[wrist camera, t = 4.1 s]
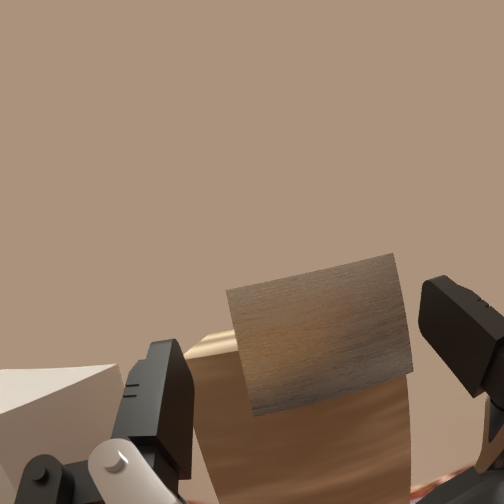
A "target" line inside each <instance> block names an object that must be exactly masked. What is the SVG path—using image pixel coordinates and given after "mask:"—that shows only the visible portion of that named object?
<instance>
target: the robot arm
mask: <svg viewBox="0 0 504 504" xmlns="http://www.w3.org/2000/svg"><path fill="white" fill-rule="evenodd" d="M418 324H419V329H420V332H421V334H422V336H423V337H424V338H425V339H426V340H427V342H428V343H429V344H430V345H431V346H432V348H433V349H434V350H435V351H436V352H437V354H438V355H439V356H440V357H441V358H442V360H443V361H444V362H445V363H446V364H447V366H448V367H449V368H450V369H451V371H452V372H453V373H454V374H455V376H456V377H457V378H458V379H459V381H460V382H461V383H462V384H463V386H464V387H465V388H466V390H467V391H468V392H469V393H470V395H471V396H472V397H473V398H475V397H477V396H478V395H480V394H482V393H483V392H485V391H486V393H487V394H488V396H487V398H486V402H485V419H484V433H483V443H482V450H481V453H480V456H479V458H478V461H477V463H476V465H475V468H474V466H472V467H471V468H469V469H467V470H466V471H464V472H462V473H461V474H459V475H457V476H455V477H454V478H452V479H450V480H448V481H447V482H445V483H443V484H441V485H439V486H437V487H436V488H435V489H434V490H432V491H431V492H430V493H429V494H427V495H426V496H425V497H424V498H422V499H421V500H420V501H418V502H417V503H416V504H504V317H503V316H502V315H501V314H499V313H498V312H497V311H496V310H495V309H494V308H493V307H491V306H490V307H489V304H488V303H486V302H485V301H484V300H481V298H480V297H479V296H478V295H477V294H475V293H474V292H473V291H471V290H469V289H467V288H464V287H462V286H460V285H457V284H456V283H455V282H454V281H452V280H451V279H450V278H448V277H447V276H445V275H442V276H439V277H436V278H433V279H430V280H426V281H425V282H424V283H423V285H422V292H421V301H420V310H419V317H418ZM125 385H126V388H124V391H123V395H122V396H123V398H121V402H120V405H119V409H118V412H117V416H116V420H115V423H114V427H113V431H112V435H111V438H110V440H107V441H104V442H102V443H101V444H99V445H98V446H97V447H96V448H95V449H94V450H93V451H92V453H91V455H90V457H89V459H88V460H84V461H79V462H74V463H70V464H65V465H63V464H62V463H61V462H59V461H58V460H57V459H56V458H55V457H54V456H52V455H49V454H41V455H38V456H35V457H34V458H32V459H31V460H30V461H29V462H28V463H27V464H26V466H25V468H24V470H23V473H22V477H21V480H20V484H19V487H18V491H17V494H16V498H15V502H14V504H188V502H187V501H186V500H185V499H184V498H183V497H182V496H181V495H180V493H179V492H178V480H189V479H191V467H192V438H193V417H194V398H195V387H194V381H193V377H192V374H191V372H190V370H189V367H188V365H187V363H186V360H185V358H184V355H183V353H182V351H181V348H180V346H179V343H178V342H177V340H176V339H170V340H163V341H157V342H152V343H151V344H150V347H149V350H148V354H147V358H146V359H145V360H138V362H137V363H136V364H135V366H134V367H133V368H132V369H131V371H130V372H129V375H128V378H127V381H126V384H125Z"/></svg>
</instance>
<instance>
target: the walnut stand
mask: <svg viewBox="0 0 504 504" xmlns="http://www.w3.org/2000/svg"><path fill="white" fill-rule="evenodd" d="M184 358H185V360H186V363H187V365H188V367H189V370H190V372H191V374H192V377H193V381H194V387H195V398H194V417H193V427H194V430H195V433H196V436H197V440H198V443H199V446H200V449H201V452H202V455H203V459H204V462H205V464H206V468H207V470H208V473H209V476H210V479H211V482H212V484H213V487H214V490H215V493H216V495H217V498H218V501H219V503H220V504H410V486H411V439H410V416H409V401H408V389H407V379H406V374H405V375H403V376H400V377H398V378H395V379H392V380H389V381H387V382H384V383H381V384H378V385H375V386H372V387H369V388H366V389H363V390H360V391H357V392H354V393H350V394H347V395H344V396H340V397H337V398H333V399H330V400H326V401H322V402H319V403H315V404H311V405H307V406H303V407H299V408H294V409H290V410H285V411H281V412H276V413H271V414H266V415H260V416H255V417H254V415H253V411H252V407H251V403H250V399H249V394H248V390H247V386H246V381H245V377H244V373H243V368H242V364H241V359H240V355H239V350H238V346H237V341H236V337H235V332H234V329H233V330H228V331H223V332H217V333H211V334H209V335H207V336H206V337H205V338H204V339H202V340H201V341H200V342H199V343H197V344H196V345H195V346H194V347H193V348H191V349H190V350H189V351H187V352H186V353H185V354H184Z"/></svg>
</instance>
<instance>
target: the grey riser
mask: <svg viewBox="0 0 504 504" xmlns="http://www.w3.org/2000/svg"><path fill="white" fill-rule="evenodd" d="M123 391H124V386H123V382H122V378H121V374H120V370H119V367H118V364H110V365H99V366H86V367H70V368H49V369H3V370H0V504H14V502H15V498H16V494H17V491H18V487H19V484H20V480H21V477H22V473H23V470H24V468H25V466H26V464H27V463H28V462H29V461H30V460H31V459H32V458H34V457H35V456H38V455H41V454H49V455H52V456H54V457H55V458H56V459H57V460H58V461H59V462H61V463H62V464H63V465H65V464H70V463H74V462H79V461H84V460H88V459H89V457H90V455H91V453H92V451H93V450H94V449H95V448H96V447H97V446H98V445H99V444H101V443H102V442H104V441H107V440H110V438H111V435H112V431H113V427H114V423H115V420H116V416H117V412H118V409H119V405H120V402H121V398H123V396H122V395H123Z"/></svg>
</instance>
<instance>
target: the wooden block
mask: <svg viewBox="0 0 504 504" xmlns="http://www.w3.org/2000/svg"><path fill="white" fill-rule="evenodd" d="M226 294H227V298H228V304H229V308H230V312H231V318H232V322H233V327H234V332H235V337H236V341H237V346H238V350H239V355H240V359H241V364H242V368H243V373H244V377H245V381H246V386H247V390H248V394H249V399H250V403H251V407H252V411H253V415H254V417H255V416H260V415H266V414H271V413H276V412H281V411H285V410H290V409H294V408H299V407H303V406H307V405H311V404H315V403H319V402H322V401H326V400H330V399H333V398H337V397H340V396H344V395H347V394H350V393H354V392H357V391H360V390H363V389H366V388H369V387H372V386H375V385H378V384H381V383H384V382H387V381H389V380H392V379H395V378H398V377H400V376H403V375H405V374H408V373H410V372H413V363H412V354H411V346H410V339H409V332H408V326H407V319H406V313H405V308H404V302H403V297H402V292H401V287H400V282H399V277H398V272H397V268H396V264H395V259H394V255H393V253H390V254H386V255H382V256H378V257H374V258H370V259H366V260H361V261H357V262H353V263H349V264H345V265H340V266H336V267H331V268H327V269H323V270H318V271H314V272H309V273H305V274H300V275H296V276H291V277H287V278H282V279H278V280H273V281H269V282H264V283H259V284H254V285H249V286H244V287H239V288H235V289H230V290H226Z"/></svg>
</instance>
